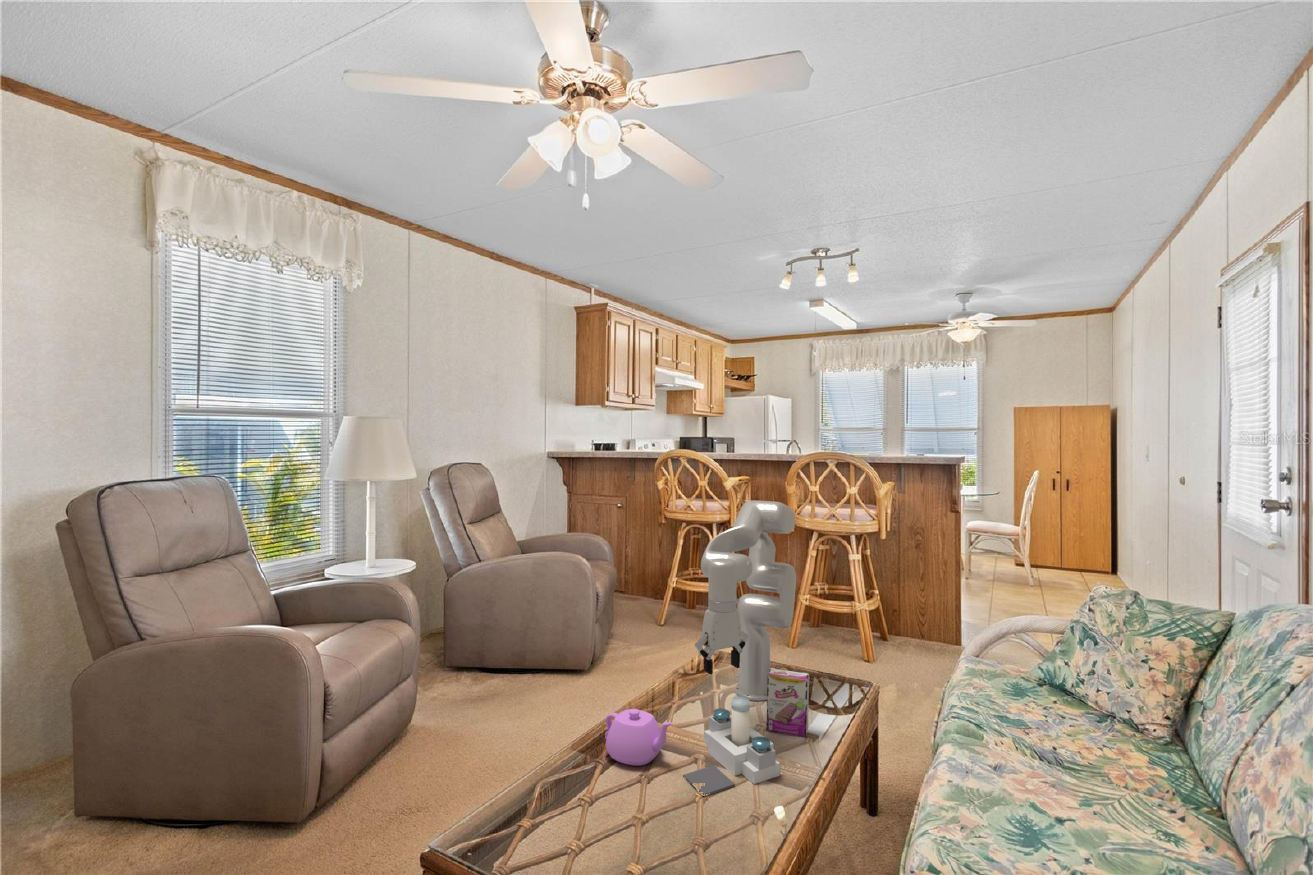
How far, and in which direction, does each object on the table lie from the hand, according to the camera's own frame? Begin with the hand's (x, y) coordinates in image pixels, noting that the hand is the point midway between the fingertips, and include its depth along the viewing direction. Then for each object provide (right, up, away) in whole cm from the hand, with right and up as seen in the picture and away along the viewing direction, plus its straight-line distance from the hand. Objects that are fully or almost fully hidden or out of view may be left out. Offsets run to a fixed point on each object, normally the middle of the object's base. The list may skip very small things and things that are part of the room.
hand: (721, 669), depth 164 cm
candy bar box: (+19, -20, +7) cm, 29 cm away
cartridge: (+4, -20, -7) cm, 22 cm away
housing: (+4, -20, -7) cm, 22 cm away
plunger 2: (+8, -17, -15) cm, 24 cm away
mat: (-5, -20, -18) cm, 27 cm away
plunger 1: (0, -17, 0) cm, 17 cm away
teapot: (-22, -20, -7) cm, 31 cm away
